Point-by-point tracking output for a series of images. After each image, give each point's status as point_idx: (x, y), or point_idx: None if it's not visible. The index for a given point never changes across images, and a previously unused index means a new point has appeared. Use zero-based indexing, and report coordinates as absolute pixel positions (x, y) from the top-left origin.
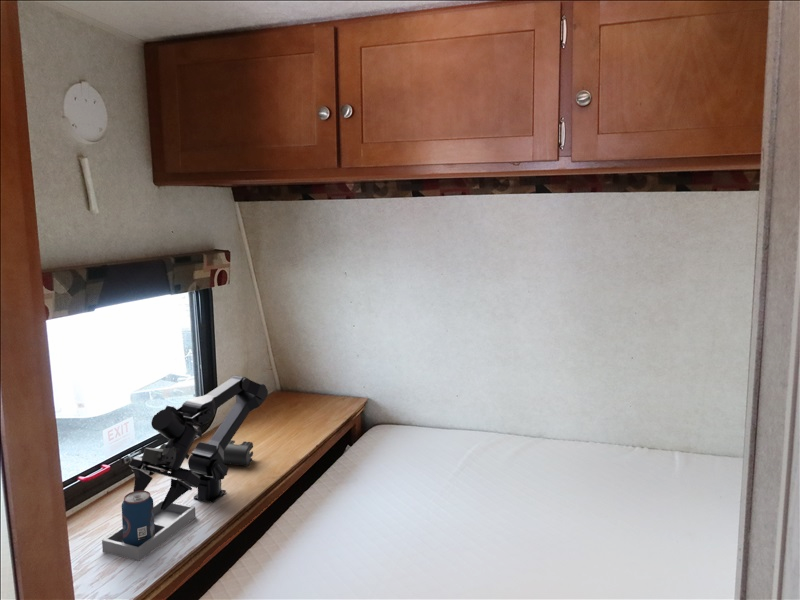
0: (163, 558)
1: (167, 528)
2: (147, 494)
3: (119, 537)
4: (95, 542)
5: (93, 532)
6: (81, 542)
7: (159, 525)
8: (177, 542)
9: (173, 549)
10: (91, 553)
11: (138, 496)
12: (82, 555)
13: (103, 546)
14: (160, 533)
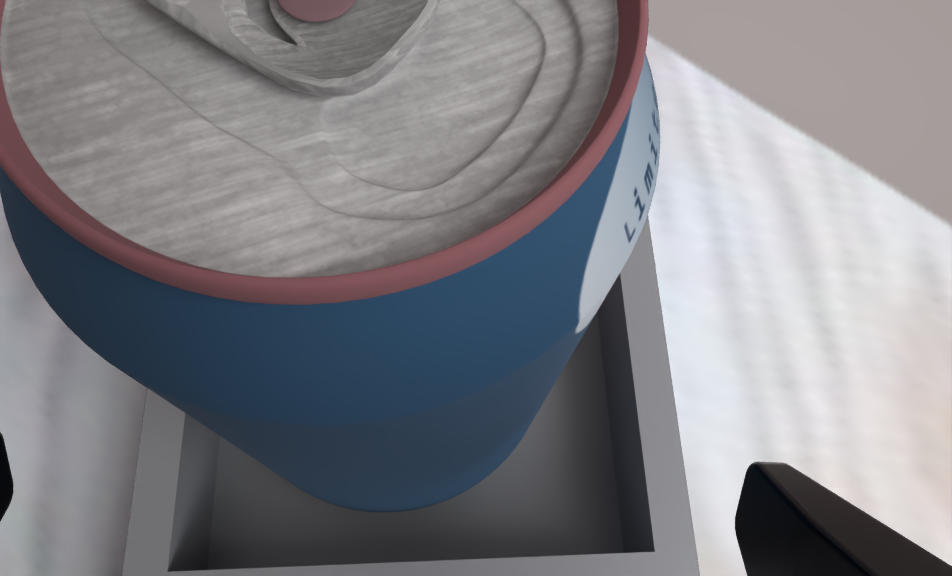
0: (36, 288)
1: (126, 565)
2: (148, 205)
3: (605, 316)
4: (779, 256)
5: (946, 364)
6: (878, 216)
7: (263, 570)
8: (37, 558)
9: (15, 436)
10: (666, 139)
11: (295, 6)
12: (703, 100)
13: None
14: (144, 431)
